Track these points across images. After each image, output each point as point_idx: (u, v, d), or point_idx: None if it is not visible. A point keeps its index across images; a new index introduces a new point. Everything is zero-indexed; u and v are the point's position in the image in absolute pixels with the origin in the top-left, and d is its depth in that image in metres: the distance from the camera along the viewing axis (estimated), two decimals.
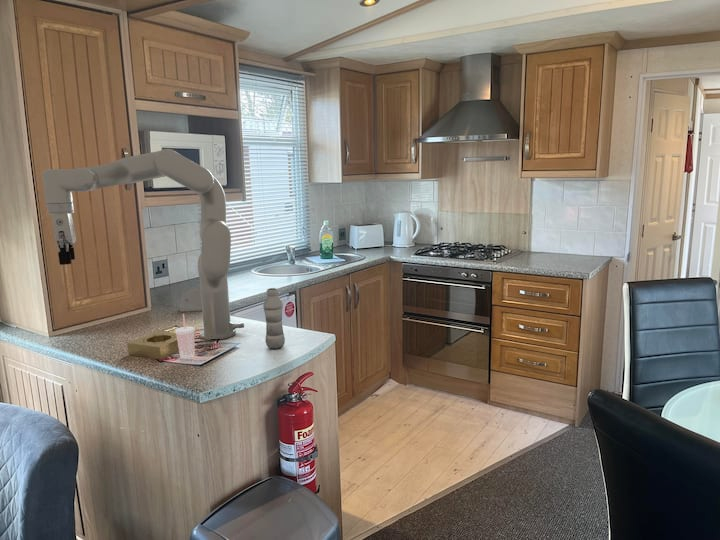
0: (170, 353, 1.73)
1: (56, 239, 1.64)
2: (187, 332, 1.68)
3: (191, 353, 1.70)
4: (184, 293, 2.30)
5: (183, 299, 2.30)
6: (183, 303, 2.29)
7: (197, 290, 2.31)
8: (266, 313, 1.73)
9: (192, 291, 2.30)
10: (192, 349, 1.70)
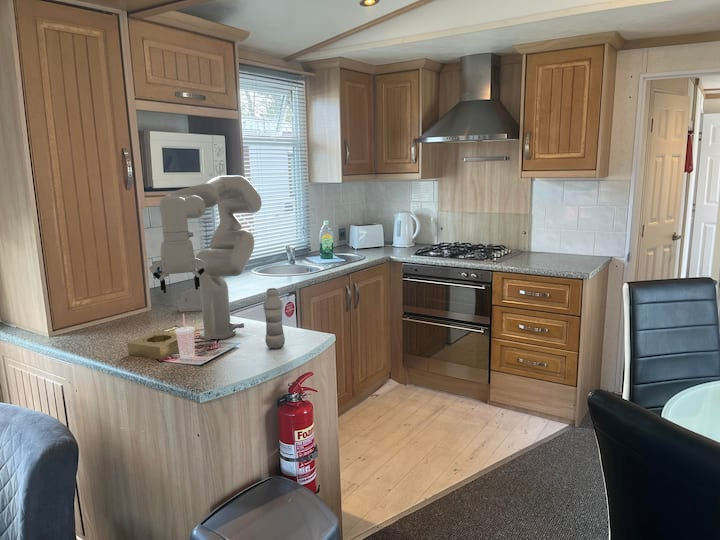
0: (170, 353, 1.73)
1: (195, 265, 1.67)
2: (187, 332, 1.68)
3: (191, 353, 1.70)
4: (183, 293, 2.30)
5: (182, 299, 2.29)
6: (182, 303, 2.29)
7: (196, 290, 2.31)
8: (266, 313, 1.73)
9: (191, 291, 2.30)
10: (192, 349, 1.70)
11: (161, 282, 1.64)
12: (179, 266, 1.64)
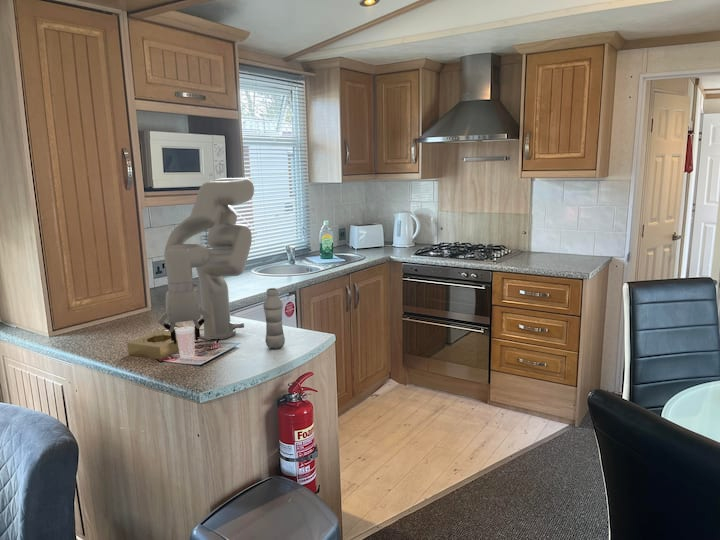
0: (170, 353, 1.73)
1: (199, 313, 1.70)
2: (187, 332, 1.68)
3: (191, 353, 1.70)
4: None
5: None
6: None
7: None
8: (266, 313, 1.73)
9: None
10: (192, 349, 1.70)
11: (171, 333, 1.68)
12: (184, 315, 1.67)
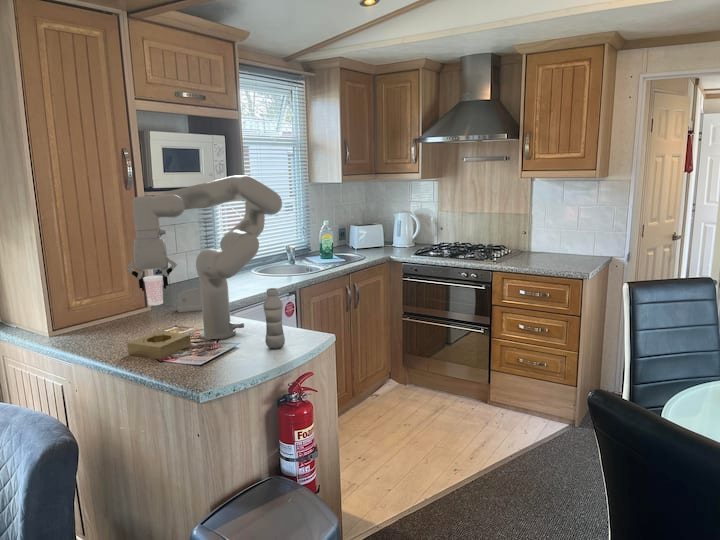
0: (170, 353, 1.73)
1: (167, 262, 1.73)
2: (155, 279, 1.71)
3: (159, 301, 1.74)
4: (181, 294, 2.29)
5: (180, 300, 2.29)
6: (180, 304, 2.28)
7: (194, 290, 2.31)
8: (266, 313, 1.73)
9: (189, 291, 2.30)
10: (160, 297, 1.73)
11: (139, 280, 1.71)
12: (151, 262, 1.70)
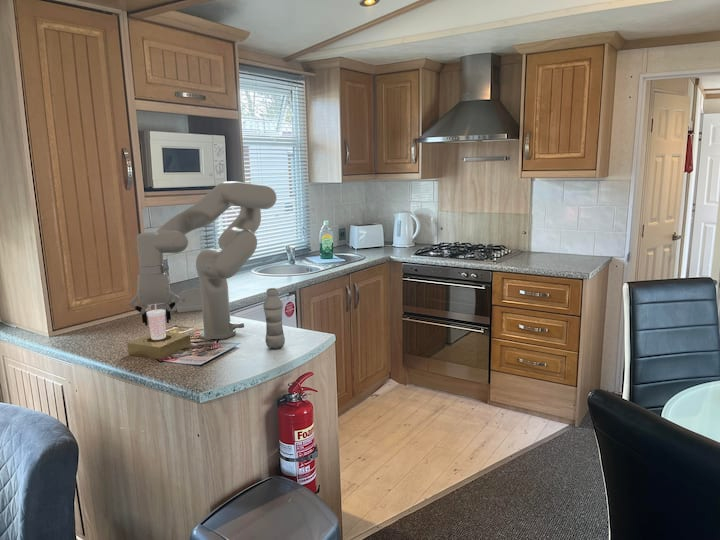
0: (170, 353, 1.73)
1: (170, 296, 1.75)
2: (158, 314, 1.73)
3: (162, 335, 1.76)
4: (180, 294, 2.29)
5: (179, 300, 2.28)
6: (180, 304, 2.28)
7: (193, 290, 2.31)
8: (266, 313, 1.73)
9: (188, 291, 2.30)
10: (162, 331, 1.76)
11: (143, 315, 1.74)
12: (154, 297, 1.73)
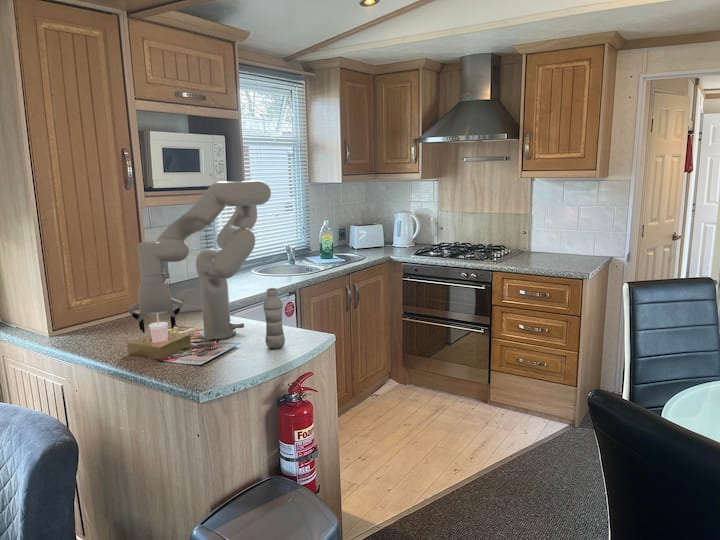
0: (170, 353, 1.73)
1: (171, 305, 1.76)
2: (160, 327, 1.74)
3: None
4: (179, 294, 2.29)
5: (179, 300, 2.28)
6: None
7: (192, 290, 2.31)
8: (266, 313, 1.73)
9: (187, 291, 2.30)
10: None
11: (140, 322, 1.74)
12: (156, 306, 1.73)
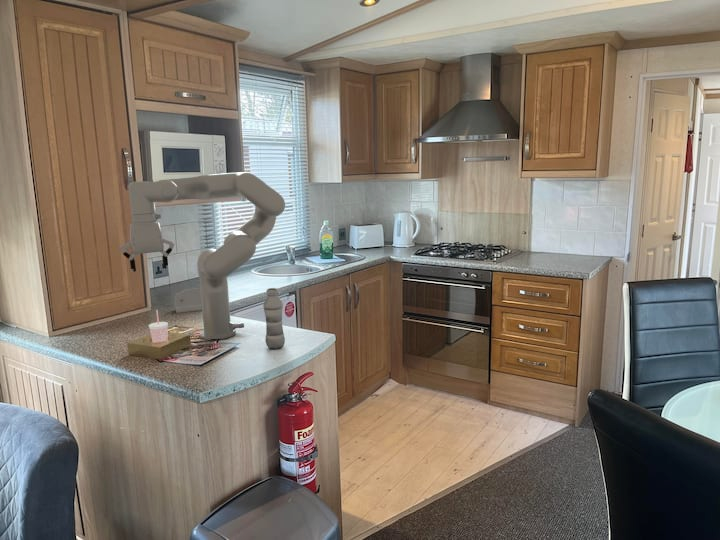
0: (170, 353, 1.73)
1: (163, 245, 1.78)
2: (160, 327, 1.74)
3: None
4: (178, 294, 2.28)
5: (178, 300, 2.28)
6: (178, 304, 2.28)
7: (191, 290, 2.30)
8: (266, 313, 1.73)
9: (186, 292, 2.30)
10: None
11: (131, 261, 1.75)
12: (148, 245, 1.76)
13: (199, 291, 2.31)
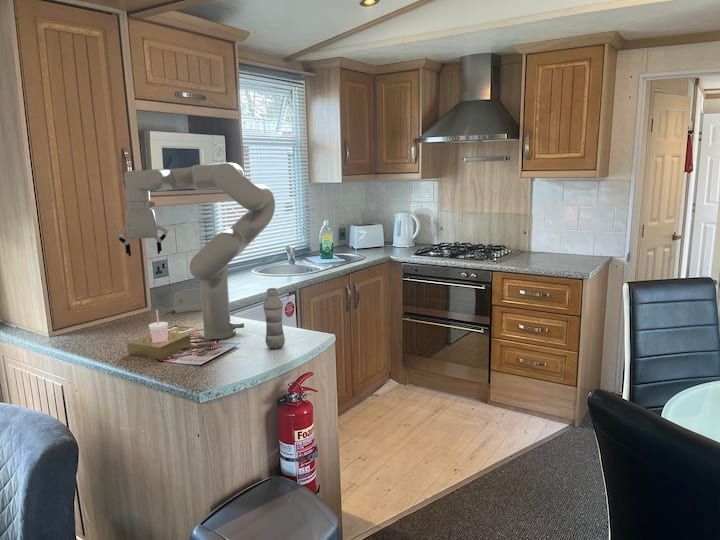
0: (170, 353, 1.73)
1: (157, 231, 1.87)
2: (160, 327, 1.74)
3: None
4: (177, 294, 2.28)
5: (177, 300, 2.28)
6: (177, 304, 2.27)
7: (190, 290, 2.30)
8: (266, 313, 1.73)
9: (185, 292, 2.30)
10: None
11: (126, 246, 1.85)
12: (142, 231, 1.85)
13: (198, 291, 2.31)
